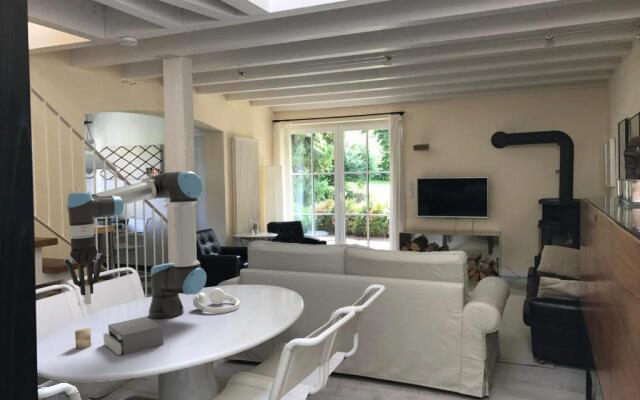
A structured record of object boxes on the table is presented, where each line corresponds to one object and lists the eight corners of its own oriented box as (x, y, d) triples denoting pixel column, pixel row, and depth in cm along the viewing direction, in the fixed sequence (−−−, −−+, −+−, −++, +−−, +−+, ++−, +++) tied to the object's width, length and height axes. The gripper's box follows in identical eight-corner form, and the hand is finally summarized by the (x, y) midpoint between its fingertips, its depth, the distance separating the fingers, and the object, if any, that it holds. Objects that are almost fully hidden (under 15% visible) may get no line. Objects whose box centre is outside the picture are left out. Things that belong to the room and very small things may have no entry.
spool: (74, 346, 168) (73, 330, 168) (89, 342, 171) (88, 327, 171) (77, 349, 164) (76, 333, 164) (92, 346, 167) (91, 330, 167)
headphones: (188, 310, 211) (219, 320, 201) (188, 293, 211) (219, 302, 200) (218, 300, 228) (248, 309, 217) (218, 284, 227) (249, 292, 217)
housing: (146, 333, 179) (145, 316, 179) (163, 344, 167) (162, 325, 166) (108, 343, 170) (107, 324, 170) (123, 355, 157) (122, 335, 157)
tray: (141, 334, 178) (140, 324, 178) (157, 344, 165) (157, 334, 165) (103, 343, 169) (103, 333, 169) (118, 355, 156) (117, 344, 156)
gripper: (64, 240, 149) (69, 310, 151) (105, 235, 158) (110, 301, 159) (59, 238, 155) (64, 305, 156) (99, 233, 163) (104, 297, 165)
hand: (87, 303), depth 158 cm, fingers closed
